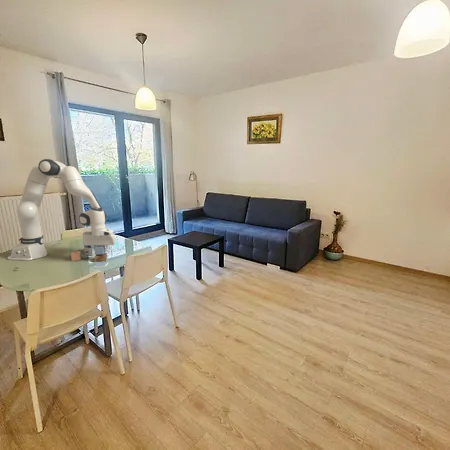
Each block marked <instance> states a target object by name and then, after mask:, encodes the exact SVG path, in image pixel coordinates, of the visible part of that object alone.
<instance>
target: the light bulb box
mask: <svg viewBox="0 0 450 450" xmlns="http://www.w3.org/2000/svg"><path fill="white" fill-rule="evenodd" d="M96 246H97V245H95V247H96ZM83 247H84V248H83V249H84V255H85V256H92V257H94V256H95V255H96V254H95V251H94V249H93V248H92V245H84V244H83Z"/></svg>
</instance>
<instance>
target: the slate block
mask: <svg viewBox="0 0 450 450" xmlns="http://www.w3.org/2000/svg"><path fill="white" fill-rule="evenodd" d="M104 248H106V247H105V245H97V246H96V247H95V255H96V254H104V253H107V251H104Z"/></svg>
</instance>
